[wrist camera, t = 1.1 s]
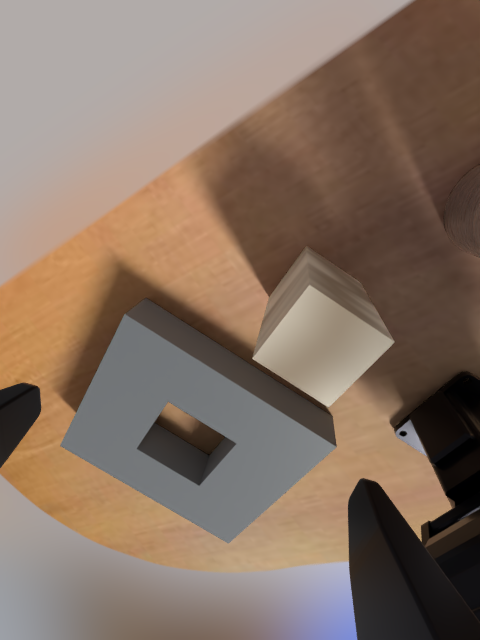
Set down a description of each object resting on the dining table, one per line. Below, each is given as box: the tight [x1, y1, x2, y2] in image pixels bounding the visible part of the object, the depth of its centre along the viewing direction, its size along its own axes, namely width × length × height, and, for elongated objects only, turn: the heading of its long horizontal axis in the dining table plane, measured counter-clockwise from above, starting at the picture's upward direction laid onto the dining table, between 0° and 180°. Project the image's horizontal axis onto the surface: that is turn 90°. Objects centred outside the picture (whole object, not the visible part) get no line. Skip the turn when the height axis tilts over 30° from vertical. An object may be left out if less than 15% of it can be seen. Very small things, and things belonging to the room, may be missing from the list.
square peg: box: [252, 246, 395, 407], centre depth 17 cm, size 4×4×8 cm
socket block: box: [60, 298, 337, 543], centre depth 25 cm, size 16×14×3 cm
